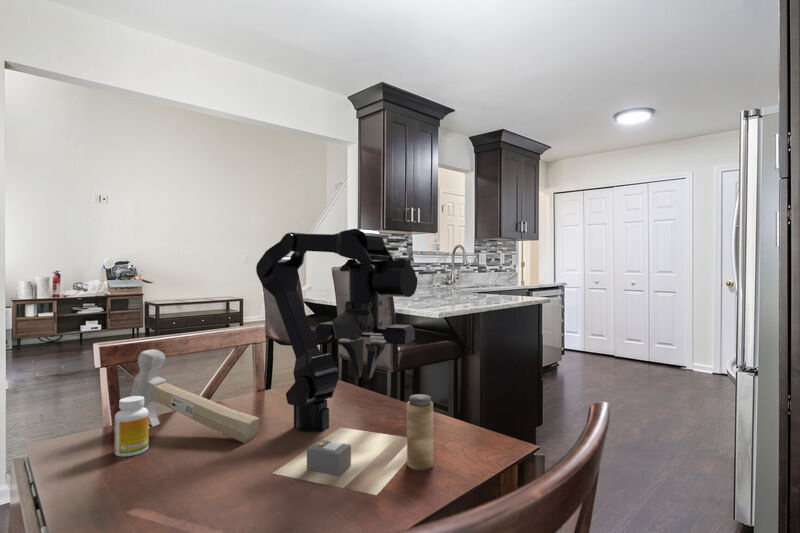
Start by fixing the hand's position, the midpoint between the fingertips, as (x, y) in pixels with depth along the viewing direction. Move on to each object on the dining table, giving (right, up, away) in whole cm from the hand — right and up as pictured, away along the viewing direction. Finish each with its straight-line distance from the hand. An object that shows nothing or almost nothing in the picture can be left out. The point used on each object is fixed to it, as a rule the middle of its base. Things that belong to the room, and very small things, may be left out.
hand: (364, 377), depth 83 cm
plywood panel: (-1, -13, -6) cm, 14 cm away
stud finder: (-5, -12, -11) cm, 17 cm away
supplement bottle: (-43, -13, -2) cm, 45 cm away
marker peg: (+10, -13, -10) cm, 19 cm away
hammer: (-36, -14, +7) cm, 39 cm away
